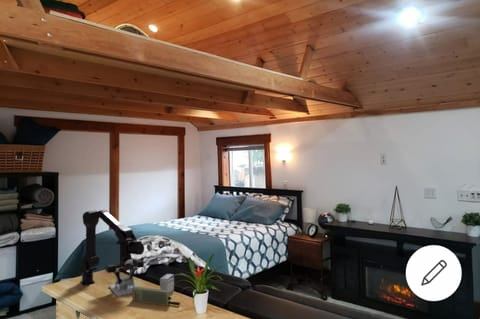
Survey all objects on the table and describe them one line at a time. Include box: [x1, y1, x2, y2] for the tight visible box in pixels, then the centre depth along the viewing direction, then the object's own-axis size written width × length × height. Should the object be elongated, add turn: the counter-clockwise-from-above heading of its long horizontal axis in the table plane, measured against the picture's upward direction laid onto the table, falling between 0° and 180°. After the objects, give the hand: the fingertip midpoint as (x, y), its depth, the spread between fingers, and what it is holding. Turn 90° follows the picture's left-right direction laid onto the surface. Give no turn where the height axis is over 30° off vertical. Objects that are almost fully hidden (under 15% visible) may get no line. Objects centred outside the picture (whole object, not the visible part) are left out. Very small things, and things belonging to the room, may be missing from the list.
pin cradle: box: [108, 281, 139, 297], centre depth 183 cm, size 16×12×4 cm
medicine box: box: [159, 273, 175, 294], centre depth 178 cm, size 8×4×9 cm, turn 169°
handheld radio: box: [131, 286, 181, 306], centre depth 165 cm, size 7×3×25 cm
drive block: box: [115, 274, 135, 288], centre depth 183 cm, size 9×5×4 cm, turn 46°
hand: (124, 282), depth 183 cm, fingers closed on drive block, 5 cm apart
